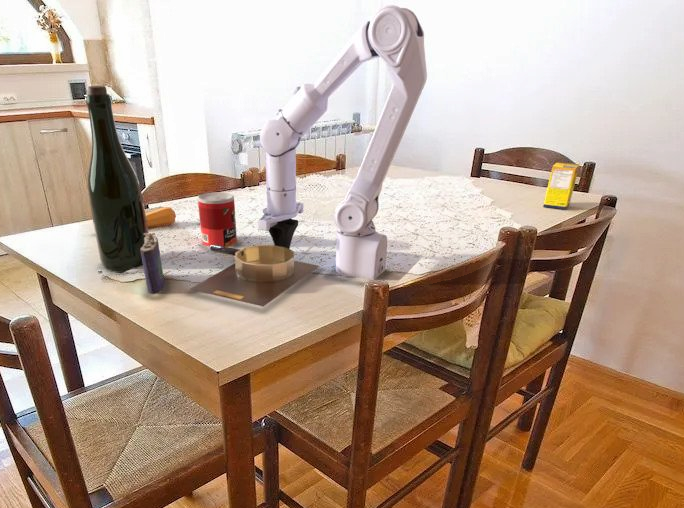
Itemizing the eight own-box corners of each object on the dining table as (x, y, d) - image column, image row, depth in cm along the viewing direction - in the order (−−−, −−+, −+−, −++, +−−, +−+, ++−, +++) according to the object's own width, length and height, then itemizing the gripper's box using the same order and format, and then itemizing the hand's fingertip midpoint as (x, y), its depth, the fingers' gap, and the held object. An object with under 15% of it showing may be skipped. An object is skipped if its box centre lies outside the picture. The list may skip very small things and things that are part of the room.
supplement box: (569, 205, 148) (580, 163, 142) (565, 210, 144) (577, 167, 138) (546, 202, 151) (556, 161, 145) (542, 207, 146) (552, 165, 140)
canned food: (231, 252, 117) (228, 201, 111) (197, 250, 118) (192, 199, 112) (241, 241, 123) (238, 192, 117) (208, 239, 125) (204, 191, 119)
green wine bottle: (119, 277, 105) (83, 89, 87) (92, 265, 111) (53, 86, 93) (163, 263, 111) (138, 85, 94) (135, 252, 117) (106, 82, 100)
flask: (151, 279, 104) (142, 225, 98) (166, 279, 104) (159, 224, 98) (147, 299, 96) (137, 241, 90) (163, 298, 96) (155, 240, 91)
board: (319, 270, 108) (319, 265, 107) (263, 311, 91) (262, 306, 91) (253, 257, 114) (253, 252, 114) (189, 293, 98) (188, 288, 97)
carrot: (175, 224, 137) (169, 206, 136) (179, 221, 133) (173, 203, 132) (98, 244, 130) (92, 225, 129) (100, 242, 126) (93, 223, 125)
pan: (304, 267, 106) (304, 250, 104) (275, 287, 98) (275, 269, 96) (227, 252, 114) (226, 236, 112) (194, 269, 106) (193, 252, 104)
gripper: (282, 178, 109) (283, 242, 116) (243, 193, 98) (246, 263, 105) (312, 181, 106) (311, 247, 113) (275, 198, 95) (277, 270, 102)
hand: (282, 256), depth 109 cm, fingers closed
